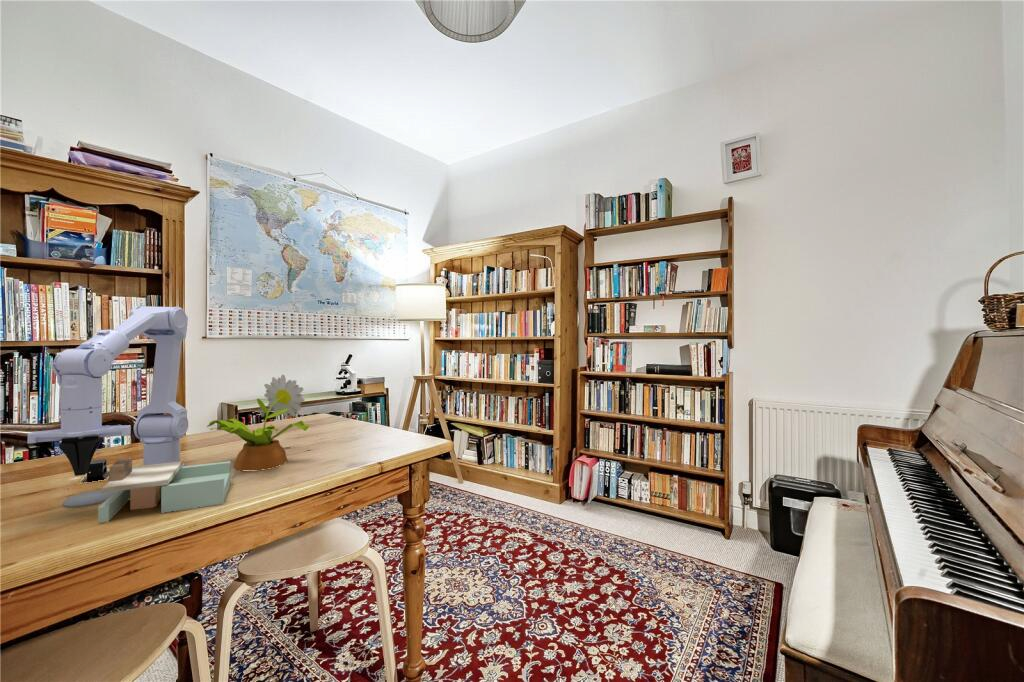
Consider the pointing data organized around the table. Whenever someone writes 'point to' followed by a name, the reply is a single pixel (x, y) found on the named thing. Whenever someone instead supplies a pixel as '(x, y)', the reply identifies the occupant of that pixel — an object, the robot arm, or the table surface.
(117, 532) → the table surface
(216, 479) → the sage green u-shaped tray
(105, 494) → the mat
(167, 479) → the lid
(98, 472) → the black small block
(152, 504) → the block
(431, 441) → the table surface
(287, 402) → the decorative plant
